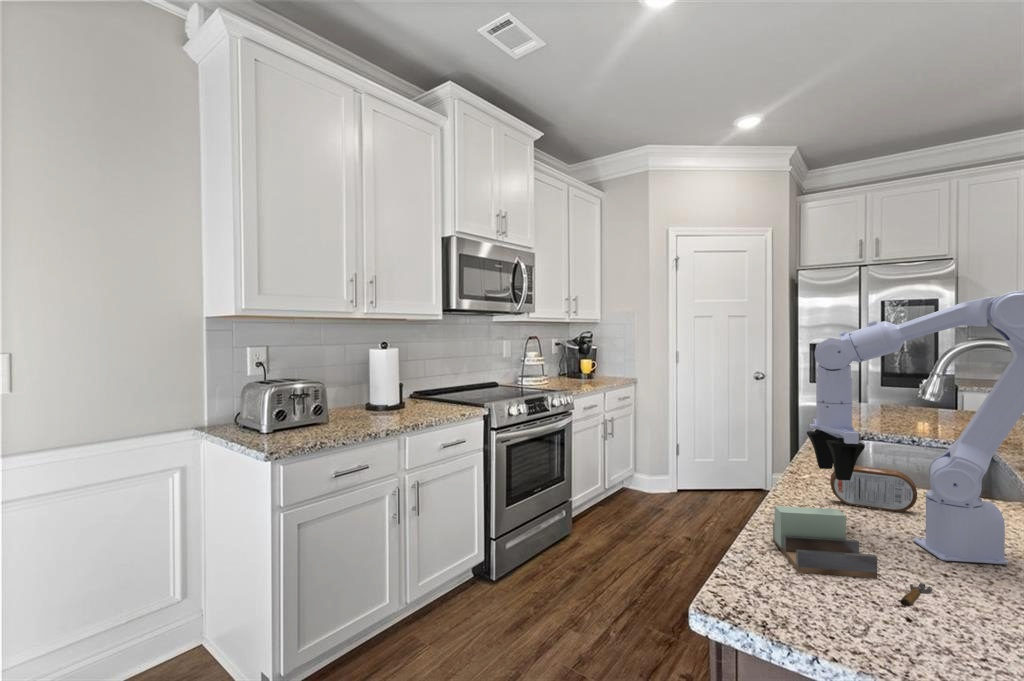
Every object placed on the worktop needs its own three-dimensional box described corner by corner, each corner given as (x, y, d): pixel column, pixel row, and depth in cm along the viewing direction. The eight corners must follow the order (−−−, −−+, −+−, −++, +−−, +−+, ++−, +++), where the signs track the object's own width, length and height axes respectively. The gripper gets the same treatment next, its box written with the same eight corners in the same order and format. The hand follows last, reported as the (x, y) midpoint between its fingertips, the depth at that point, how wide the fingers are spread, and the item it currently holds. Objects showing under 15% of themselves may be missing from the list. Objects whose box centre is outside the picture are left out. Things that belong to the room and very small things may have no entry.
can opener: (909, 609, 68) (909, 601, 68) (889, 601, 70) (889, 593, 70) (937, 591, 73) (937, 583, 73) (917, 584, 75) (917, 577, 75)
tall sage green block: (774, 539, 88) (774, 505, 88) (837, 543, 87) (837, 509, 87) (780, 547, 85) (780, 512, 85) (845, 551, 84) (846, 515, 83)
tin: (916, 512, 104) (916, 471, 104) (918, 516, 101) (918, 475, 101) (830, 499, 112) (830, 461, 112) (830, 503, 109) (830, 465, 109)
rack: (841, 545, 88) (841, 526, 88) (877, 578, 76) (877, 556, 76) (773, 540, 90) (773, 522, 90) (798, 572, 78) (798, 551, 78)
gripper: (796, 396, 103) (796, 463, 103) (827, 407, 89) (827, 484, 89) (834, 397, 102) (834, 464, 102) (872, 408, 87) (871, 486, 87)
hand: (833, 473), depth 95 cm, fingers open, 7 cm apart
